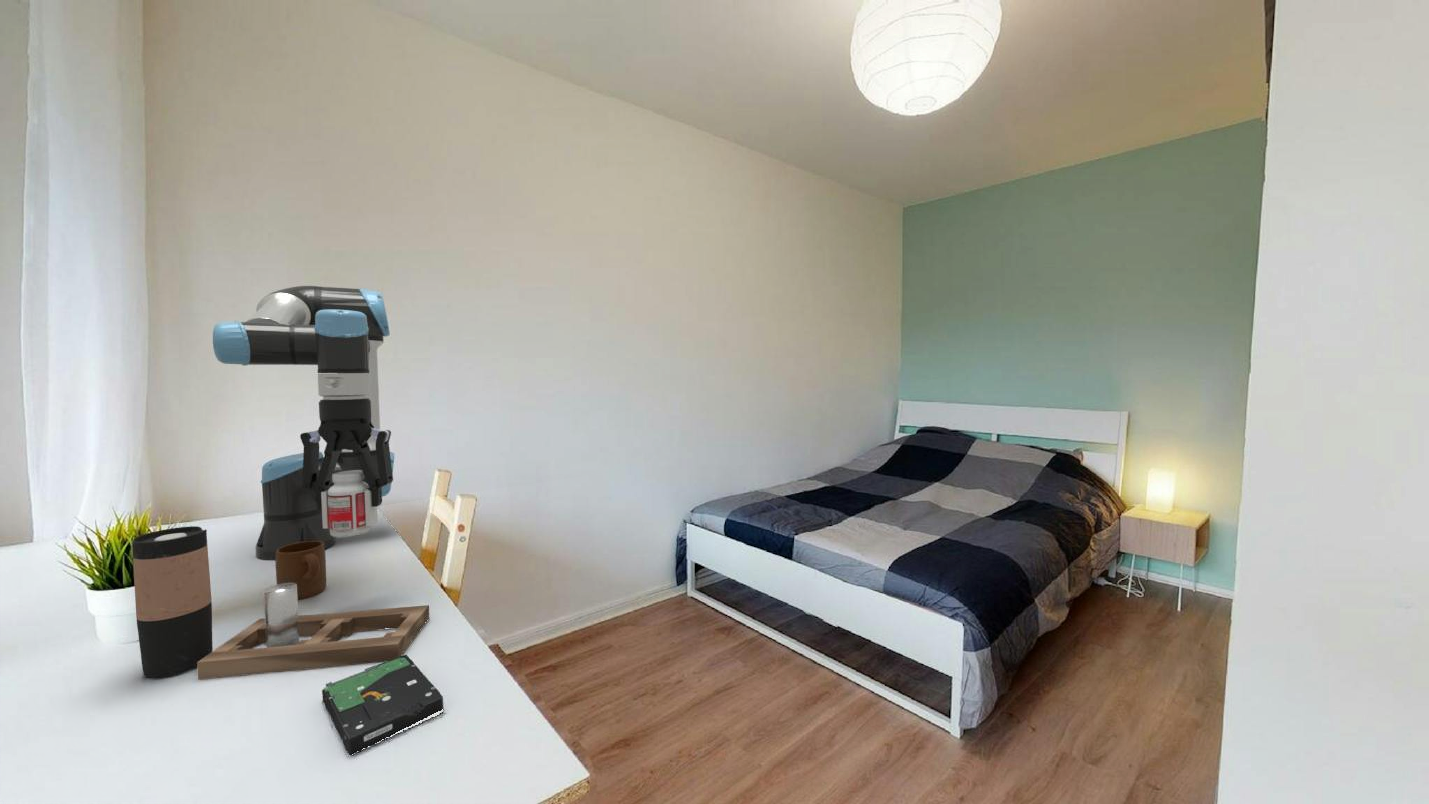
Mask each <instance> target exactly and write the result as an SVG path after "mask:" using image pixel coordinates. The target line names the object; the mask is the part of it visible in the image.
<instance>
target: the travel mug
mask: <svg viewBox="0 0 1429 804" xmlns="http://www.w3.org/2000/svg"><path fill="white" fill-rule="evenodd" d="M207 531H208V529H203V528H202V527H200V526H194V525H193V526H191V525H190V526H182V527H181V526H179V527H173V528H172V527H171V528H166V529H162V530H156V531H151V532H148V533H147V532H146V533H144V534H141V535H139V536H136V537H134V538H133V539H132V541H131V543H132V544H131V547H132V549H131V550H132V563H133V565H132V566H133V581H134V582H133V583H134V597H135V598H134V599H135V602H134V603H135V615H136V616H135V617H136V627H137V635H138V641H139V650H140V659H141V667H142V668H141V669H142V674H143V676H144V678H145V679H149V680H159V679H166V678H171V677H176V676H179V675H182V674H184V673H185V674H186V673H187V672H190V671H194V670H196V669H197V662H198V661H200V660H201V659H203V658H204V657H205V656H207V655H208V654H210V653H211V652H213V603H212V598H213V597H212V590H211V589H212V588H211V575H210V561H209V560H210V559H209V550H208V549H209V548H208V538H207V537H208V534H207V533H208V532H207Z"/></svg>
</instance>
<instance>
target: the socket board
mask: <svg viewBox="0 0 1429 804" xmlns="http://www.w3.org/2000/svg"><path fill="white" fill-rule="evenodd" d="M298 617H299V636H300V638H301V637H303V638H304V637H310V638H309V639H300V641H299V642H298V643H297V644H296V645H289V646H278V647H266V646H265V647H257V646H258V645H266V633H265V617H261V618H259V619H257V620H255V622H253V623H252V624H250V625H249V626H247V627H246V628H245V629H243V630H241V631H239V633H238V634H236V635H234V636H233V637H231V638H230V639H228V640H227V641H226V642H224V643H223V644H221V645H220V646H218V647H217V648H216V649H214V650H212V652H211V653H210V654H208V655H207V656H205V657H204V658H203V659H201V660H200V661H198V662H197V668H196V669H197V679H198V680H205V679H215V678H216V679H217V678H225V677H236V676H245V675H255V674H265V673H267V674H269V673H277V672H287V671H296V670H297V671H298V670H306V669H307V670H309V669H317V668H319V669H320V668H327V667H328V668H329V667H340V666H350V665H358V664H359V665H360V664H368V663H369V664H370V663H379V662H380V661H381V662H386V661H389V660H392V659H395V658H397V657H400V656H401V655H402V656H403V655H404V653H405V652H406V651H407V649H408V648H409V647H410V645H411V644H412V643H411V641H412V640H413V639H414V638H415V639H416V637H417V636H418V635H417V633H418V632H419V631H420V629H421V628H422V627H423V625H424V624H425V622H427V623H428V621H429V620H430V605H429V604H428V605H427V604H426V605H416V606H415V605H413V606H401V607H400V606H399V607H390V608H376V609H374V608H373V609H365V610H363V609H362V610H361V609H360V610H353V611H349V610H347V611H340V612H339V611H338V612H337V611H335V612H325V613H313V614H298ZM428 619H429V620H428ZM427 620H428V621H427ZM425 625H426V624H425ZM425 625H424V626H425ZM385 628H396V630H395V631H391V632H390V631H389V632H386V633H385V634H384V635H383V637H370V638H369V637H368V638H359V639H347V640H345V639H344V640H341V638H345V637H346V638H347V637H350V636H352V634H353V633H359V632H360V633H361V632H370V631H379V630H378V629H384V630H386V629H385ZM423 628H424V627H423ZM423 628H422V629H423ZM422 629H421V630H422ZM420 632H421V631H420ZM420 632H419V633H420ZM419 633H418V634H419ZM416 635H417V636H416ZM415 636H416V637H415ZM415 639H414V640H415ZM414 640H413V641H414ZM413 641H412V642H413ZM410 643H411V644H410ZM409 644H410V645H409ZM255 647H257V648H255ZM407 647H408V648H407ZM404 651H405V652H404ZM403 652H404V653H403Z"/></svg>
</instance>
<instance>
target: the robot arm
mask: <svg viewBox="0 0 1429 804" xmlns="http://www.w3.org/2000/svg"><path fill="white" fill-rule="evenodd" d="M255 310H256V311H255V313H253V314H252V315H251V316H250V317H249V318H248V319H247V320H245V321H240V320H234V321H220V322H217V323H216V324H215V325H214V327H213V329H212V347H213V351H214V352H213V353H214V355H215V358H216V359H217V361H218V362H220V363H221V364H224V365H225V364H226V365H242V366H243V367H244V366H245V367H246V366H257V365H258V366H261V365H262V366H264V365H265V366H267V365H268V366H269V365H270V366H273V365H275V366H277V365H279V366H281V365H283V366H285V365H291V366H296V365H297V366H299V365H300V366H317V390H318V392H317V393H318V396H319V397H322V399H320V400H319V401H318V411H319V412H318V415H319V416H318V417H319V420H320V425H319V427H318V429H317V430H315V431H308V432H306V431H305V432H303V433H300V435H299V436H300V437H299V438H300V440H301V443H302V446H303V452H302V453H301V452H300V453H295V454H291V455H287V456H285V455H284V456H281V457H277V458H274V459H271V460H268V461H267V462H265V463H264V464H263V465H262V467H261V480H260V484H261V487H262V490H261V491H262V505H263V506H262V507H263V526H262V528H261V530H260V533H259V537H258V539H257V542H256V545H255V555H256V558H258V559H262V560H275V559H276V550H277V549H279V548H281V547H283V546H286V545H289V544H293V543H297V542H304V541H322V542H323V543H324V548H325V550H326V549H328V548H331V547H332V546H334V545H335V544H336V537H333V536H331V535H330V526H329V508H328V490H329V488H330V487H332V486H333V485H334V483H333V481H332V474H334V473H337V472H343V471H350V470H362V471H363V473H364V476H365V477H364V479H363V482H365V483H367V484H368V486H369V488H367V490H365V514H366V526H373V525H375V524H376V523H378V521H379V520H378V519H379V518H378V507H379V506H381V505H382V503H383V497H385V496H387V495H389V493H390V491H391V488H392V483H393V482H394V475H393V473H394V465H395V464H394V461H395V453H394V452H392V451H390V443H389V442H390V438H391V436H392V431H391V430H390V429H384V430H383V429H381V419H380V417H381V416H380V393H379V392H380V391H379V371H378V369H379V368H378V366H379V365H378V349H379V348H380V347H381V346H383V344H384V343H385V342H384V337H388V336H390V329H389V322H388V316H387V311H386V307H385V301H384V298H383V295H382V294H381V293H380V292H378V291H375V290H368V289H362V288H349V287H348V288H347V287H332V286H316V285H300V286H299V285H298V286H292V287H291V286H290V287H287V288H282V289H278V290H275V291H272V292H270V293H269V294H267V295H265V296H264V297H263V298H261V299H260V300H259V302H258V304H257V306H256V309H255ZM321 438H322V439H323V440H324V442H325V443H326V445H325V449H324V451H323V452H322V451H320V441H321Z"/></svg>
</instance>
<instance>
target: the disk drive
mask: <svg viewBox="0 0 1429 804" xmlns="http://www.w3.org/2000/svg"><path fill="white" fill-rule="evenodd" d="M321 693H322V694H321V695H322V702H323V705H324V708H325V710H326V711H327V712H328V715H329V716H330V718H331V720H332V722H333V725H334V726H335V729H336V731H337V733H338V735H339V737H340V739H341V741H342V745H343V744H344V745H343V746H345V747H344V749H345V748H346V749H345V751H348V752H347V754H348V753H349V754H348V756H349V755H352V754H354V753H356V752H357V751H360V752H362V751H363V750H362V749H363V748H366V749H368V748H367V747H368V746H371V745H373V744H375V743H377V742H379V741H381V740H382V739H385V738H386V737H390V736H391V735H393V734H395V733H396V732H398V731H400V730H402V729H404V728H406V727H409V726H411V725H412V724H415V723H416V722H418V721H420V720H423V719H424V718H427V717H428V716H430V715H432V714H434V713H436V712H438V711H441V710H442V709H443V710H444V696H443V695H442V694H441V691H440V690H439V689H437V688H436V687H435V686H434V684H433V683H432V682H431V681H430V680H429V679H428V678H427V677H426V675H425V674H424V673H423V672H422V670H420V668H419V667H418V666H417V665H416V664H415V662H414V661H413V660H412V659H411V658H410V657H409V656H408V655H407V654H402V656H400V657H397V658H395V659H392V660H389V661H383V662H381V663H379V664H377V665H372V666H370V667H367V668H365V669H364V671H361V672H359V673H354V674H352V675H349V676H347V677H344V678H343V679H340V680H337V681H335V682H332V681H329V682H327V683H326V684H325V687H323V689H322V690H321ZM375 745H376V744H375ZM373 746H374V745H373ZM371 747H372V746H371ZM361 750H362V751H361ZM356 754H357V753H356ZM354 755H355V754H354ZM352 756H353V755H352Z"/></svg>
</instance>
